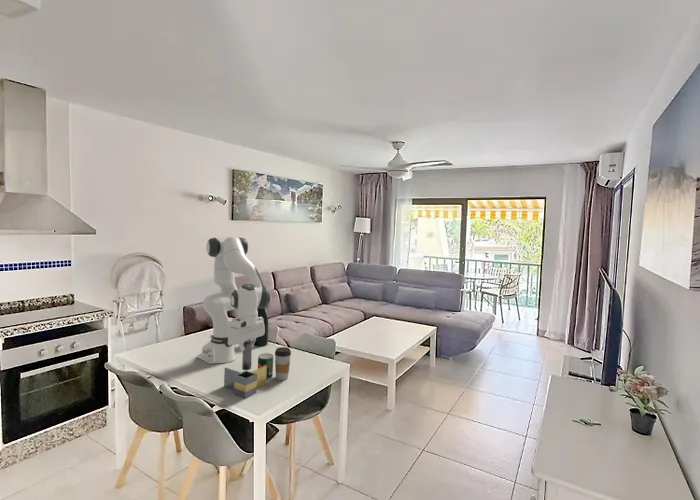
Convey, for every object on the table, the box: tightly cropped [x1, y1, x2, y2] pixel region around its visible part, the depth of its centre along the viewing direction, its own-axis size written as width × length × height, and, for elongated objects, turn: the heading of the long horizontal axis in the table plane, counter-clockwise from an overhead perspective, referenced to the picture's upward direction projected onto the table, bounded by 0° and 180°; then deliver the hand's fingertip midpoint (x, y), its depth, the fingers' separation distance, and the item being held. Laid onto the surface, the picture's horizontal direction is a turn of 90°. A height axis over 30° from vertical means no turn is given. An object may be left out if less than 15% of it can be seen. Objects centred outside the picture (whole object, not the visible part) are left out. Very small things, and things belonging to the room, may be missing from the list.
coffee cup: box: [274, 346, 292, 381], centre depth 196 cm, size 8×8×15 cm
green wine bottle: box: [254, 307, 269, 347], centre depth 246 cm, size 10×10×33 cm
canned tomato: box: [257, 352, 275, 380], centre depth 196 cm, size 8×8×11 cm
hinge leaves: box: [223, 366, 267, 399], centre depth 183 cm, size 17×17×9 cm
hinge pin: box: [241, 339, 253, 371], centre depth 175 cm, size 5×5×14 cm
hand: (246, 349), depth 175 cm, fingers closed on hinge pin, 4 cm apart
